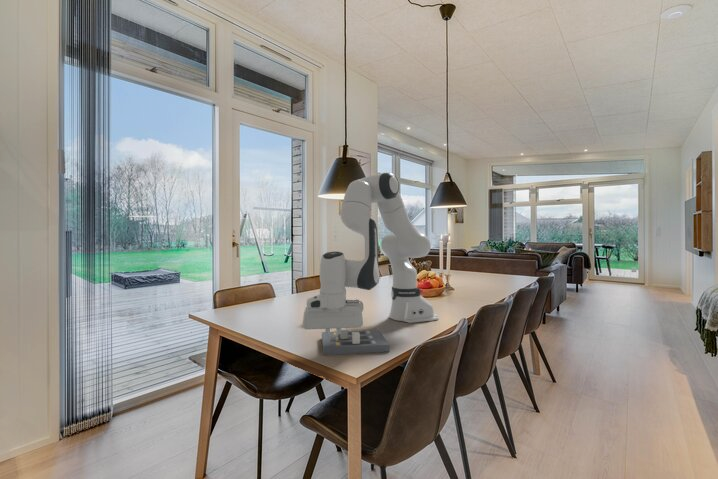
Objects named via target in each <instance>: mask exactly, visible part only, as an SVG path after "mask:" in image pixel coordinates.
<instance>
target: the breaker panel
mask: <svg viewBox="0 0 718 479" xmlns="http://www.w3.org/2000/svg"><path fill="white" fill-rule="evenodd" d="M336 332H337V331H330V332H329V333H330V335H335V334H336ZM352 332H359V334H360V344H353V343H352ZM321 342H322V343H321V344H322V351H323V356H331V355H333V356H334V355H353V354H370V353H371V352H376V353H385V352H384V351H389V352H390V344H389V342H388V341H387V339H386V338H385V336H384V335H383V333H382V331H381V330H380V329H368V330H363V329H362V330H348V339H341V338H340V334H339V335H338V336H337V341H329V337H328V335H327V333H326V331H322V332H321ZM371 354H372V353H371Z"/></svg>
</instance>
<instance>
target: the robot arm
mask: <svg viewBox="0 0 718 479" xmlns="http://www.w3.org/2000/svg"><path fill="white" fill-rule="evenodd" d="M346 188H347V189H346V192H345V194H344V197H343V200H342V205H341V210H340V220H341V222H342V223H343V226H345V227H347V228H348V229H349V230H350V231H352V232H355V233H357V234H360V235H361V236H363V237H364V258H363V259H362V260H353V259H352V260H351V259H347V258H345V254H344V253H343V252H342V251H329V252H325V253H324V254H323V255H322V256H321V258H320V264H319V281H320V289H319V294H317V295H315V296H314V295H313V296H311V297H308V298H307V300H306V307H305V309H304V312H303V318H302V327H303V329H304V330H305V331H306V330H324V332H326V333H327V335H328V337H329V341H337V336H338V335H339V333H340V332H341V328H347V329H352V328H353V329H354V328H361V327H362V326H363V324H364V318H363V312H364V303H363V301H362V300H360V299H347V290H346V288H352V289H353V288H354V289H360V290H365V291H366V290H367V291H371V290H372V289H373V288H375V287H376V286H377V285H378V284H379V281H380V275H381V274H380V266H379V265H380V264H379V244H378V243H379V242H378V236H379V235H378V227H377V224H376V223H377V222H376V221H375V220H374V219H373V218H372V217H371V216H372V215H371V211H372V210H371V209H372V204H373V203H376V204H377V207H378V211H379V214H380V216H381V218H382V222H383V223H384V226H385V228H386V229H387V230H389V231H390V232H391V233H389V234H386V235H384V236H383V238H382V240H381V244H380V247H381V250H382V251H383V253H384V254H385V255H386V257H387V258H388V260H389V263H390V265H391V267H390V268H391V271H392V287H391V306H390V312H389V316H388V318H390V319H391V320H393V321H398V322H405V323H410V324H412V323H421V322H431V321H433V322H434V321H439V315H438V314H437V313H435V312H434V308H433V305H432V303H431V302H429V301H428V300H427V298H425V297H424V296H422V295H423V294H424V293H425V289H423V288H419V287H418V286H417V285H418V272H417V269H416V267H414V266H413V265H412V264H411V261H410V259H409V258H412V259H417V258H419V259H420V258H424V257H427V256H428V255H429V253H430V251H431V246H432V245H431V241H430V239H429V237H428V236H426V234H424V233H422V232H421V231H419V229H417V227H416V226H415V225H414V224H413V222H412V220H411V218H410V217H409V215H408V212H407V209H406V207H405V204H404V202H403V198H402V195H401V194H400V192H399V190H400V183H399V179H398V178H397V177H396V176H395V174H393V173H391V172H383V173H376V174H371V175H368V176H365V177H362V178H357V179H355V180H353V181H352V182H350V183H349V185H348V186H347V187H346ZM331 329H335V330H336V331H335V332H336V334H335V335H330V333H329V332H331V331H330V330H331Z"/></svg>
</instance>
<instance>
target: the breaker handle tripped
mask: <svg viewBox="0 0 718 479" xmlns="http://www.w3.org/2000/svg"><path fill="white" fill-rule="evenodd" d="M352 343H353V344H360V334H359V332H352Z"/></svg>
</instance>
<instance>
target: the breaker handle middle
mask: <svg viewBox="0 0 718 479" xmlns="http://www.w3.org/2000/svg"><path fill="white" fill-rule="evenodd" d="M348 329H349V328H341V332H340V338H341V339H348V331H349V330H348Z"/></svg>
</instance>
